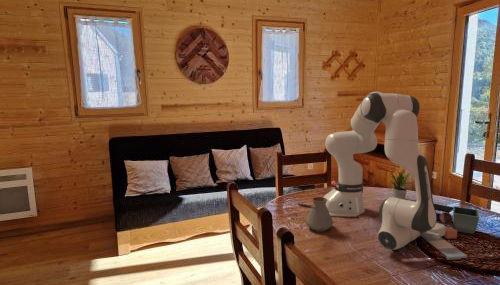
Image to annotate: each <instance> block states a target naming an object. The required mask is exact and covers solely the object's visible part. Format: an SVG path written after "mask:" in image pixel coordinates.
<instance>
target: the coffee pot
mask: <svg viewBox="0 0 500 285" xmlns="http://www.w3.org/2000/svg"><path fill="white" fill-rule="evenodd" d="M323 197H324V196H323ZM323 197H322V196H317V197H316V196H315V197H312V198H311V201H312V206H311V205H309V204H306V203H304V204H303V203H298V204H296V205H295V207H297V206H299V207H300V208H298V210H299V209H301V208H302V207H303V208H306V209H307V208H308V209H310V211H309V212H308V215H307V217H306V219H305V223H306V225H307V226H308V227H309V228H310V229H311V230H312V229H313V230H312V231H314V230H316V231H315V232H326V231H328V230H329V229H330V228H331V227H332V226H333V223H334V220H333V219H332V216H330V214H329V211H328V209H327V207H326V202H327V199H326V198H323Z"/></svg>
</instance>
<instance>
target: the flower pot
mask: <svg viewBox="0 0 500 285" xmlns="http://www.w3.org/2000/svg"><path fill="white" fill-rule="evenodd" d="M452 207H453V210H452V217H453V221H452V223H453V227H454V229H455V230H457V232H460V233H466V234H472V235H473V234H474V233H475V232H476V230H477V228H478V223H479V219H480V212H479V211H480V210H478V209H474V208H469V207H462V206H454V205H453V206H452Z"/></svg>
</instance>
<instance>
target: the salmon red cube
mask: <svg viewBox="0 0 500 285" xmlns="http://www.w3.org/2000/svg"><path fill="white" fill-rule="evenodd" d="M445 227H446V231H445V234H444V235H443V236H442V237H444V238H446V239H457V237H458V231H457V230H455V228H453V227H452V226H445Z"/></svg>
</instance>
